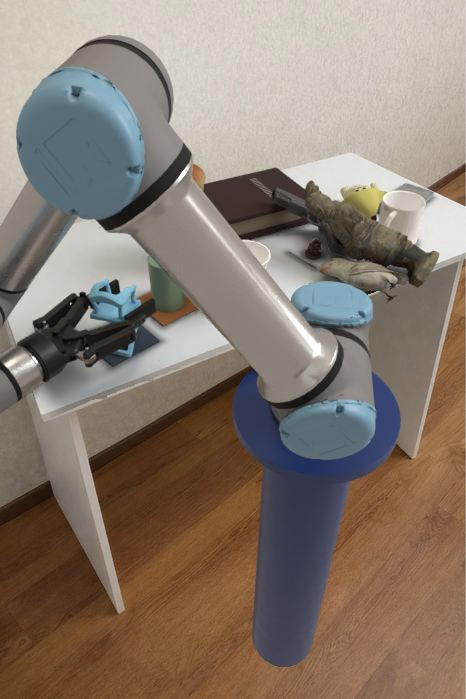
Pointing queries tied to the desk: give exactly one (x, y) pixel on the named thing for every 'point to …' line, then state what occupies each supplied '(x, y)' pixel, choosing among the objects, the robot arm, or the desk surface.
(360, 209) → the toy
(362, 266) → the decorative bird
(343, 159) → the desk surface
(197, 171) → the apple
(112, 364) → the slate mat
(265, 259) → the cup
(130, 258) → the desk surface
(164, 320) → the cork mat
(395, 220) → the mug
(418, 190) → the phone
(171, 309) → the canister
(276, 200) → the handgun
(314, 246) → the figurine
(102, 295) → the chair
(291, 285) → the desk surface
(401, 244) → the statue
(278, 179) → the book
